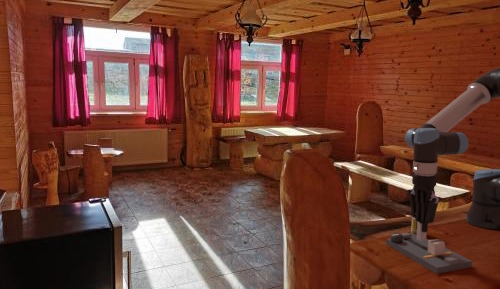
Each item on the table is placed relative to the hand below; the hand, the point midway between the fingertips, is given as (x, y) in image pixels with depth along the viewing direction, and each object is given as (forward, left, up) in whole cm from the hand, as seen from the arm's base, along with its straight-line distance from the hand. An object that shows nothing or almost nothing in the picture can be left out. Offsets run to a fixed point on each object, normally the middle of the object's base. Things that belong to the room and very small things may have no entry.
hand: (421, 239), depth 132 cm
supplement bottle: (-11, -13, -5) cm, 18 cm away
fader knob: (0, +7, -2) cm, 7 cm away
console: (0, +3, -4) cm, 5 cm away
